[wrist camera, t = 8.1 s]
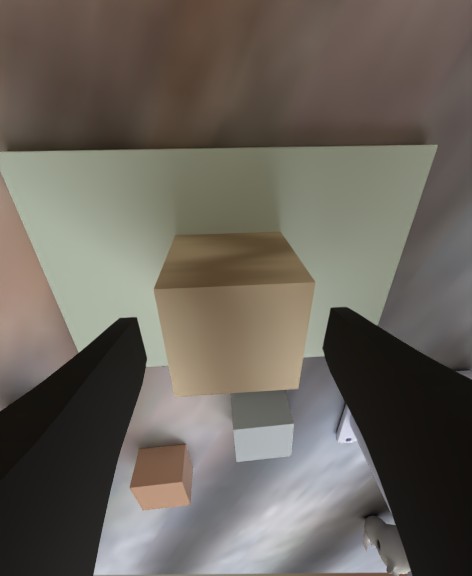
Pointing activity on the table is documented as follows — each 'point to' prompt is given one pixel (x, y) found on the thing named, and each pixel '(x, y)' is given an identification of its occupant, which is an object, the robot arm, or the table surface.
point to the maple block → (233, 313)
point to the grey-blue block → (261, 425)
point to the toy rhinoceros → (386, 544)
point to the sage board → (213, 222)
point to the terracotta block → (162, 477)
